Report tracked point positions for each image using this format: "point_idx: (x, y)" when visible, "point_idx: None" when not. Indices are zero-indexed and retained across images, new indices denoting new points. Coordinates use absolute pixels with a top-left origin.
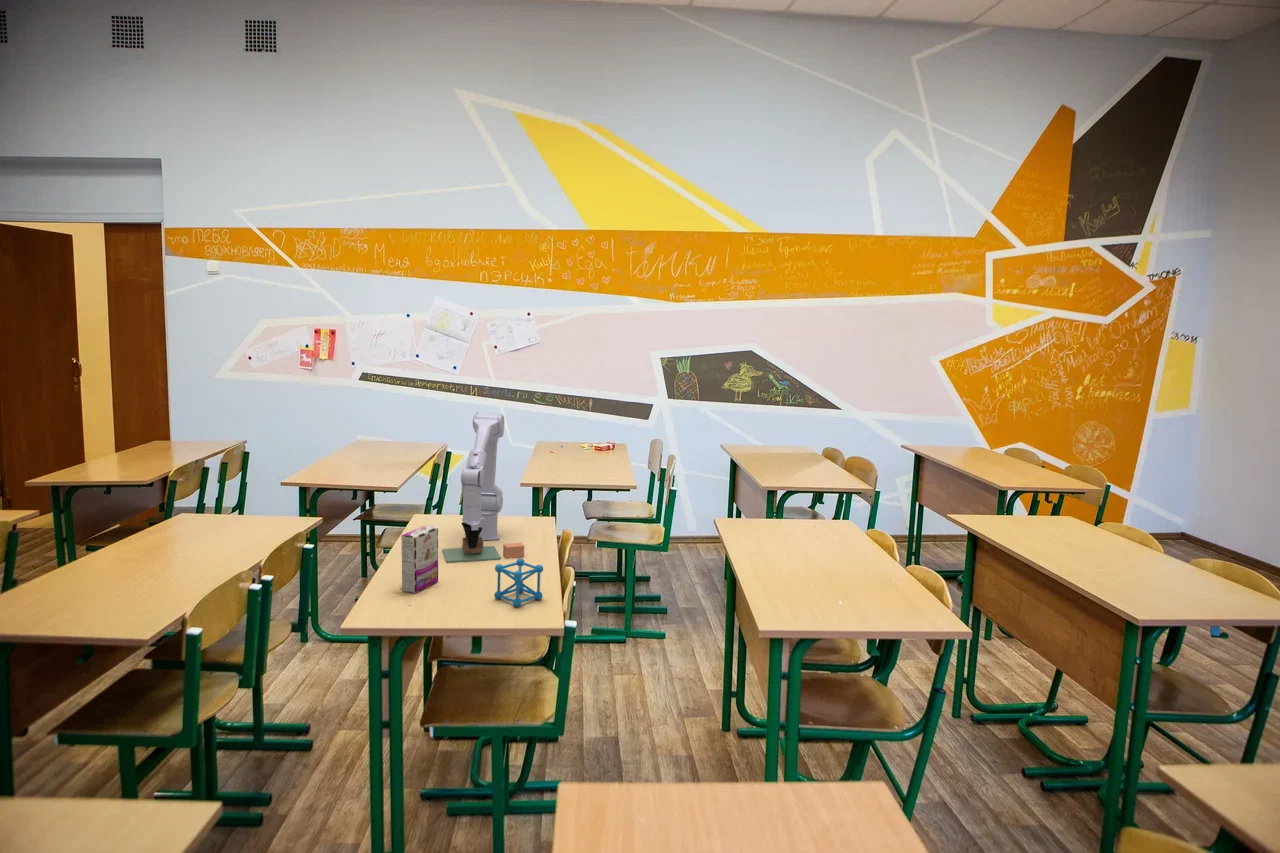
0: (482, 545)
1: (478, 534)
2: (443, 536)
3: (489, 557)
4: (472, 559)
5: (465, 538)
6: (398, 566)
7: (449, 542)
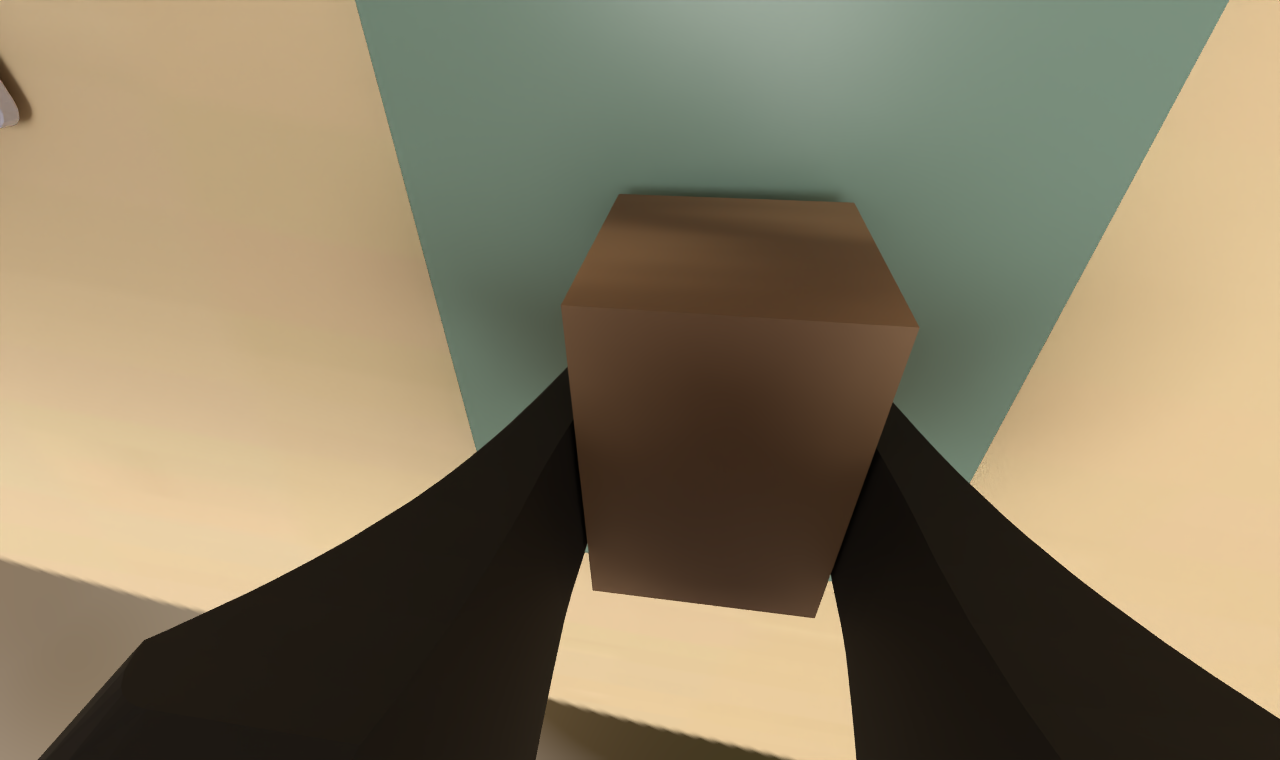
0: (878, 269)
1: (1157, 666)
2: (45, 436)
3: (1108, 93)
4: (1022, 382)
5: (648, 572)
6: (821, 746)
7: (222, 430)
